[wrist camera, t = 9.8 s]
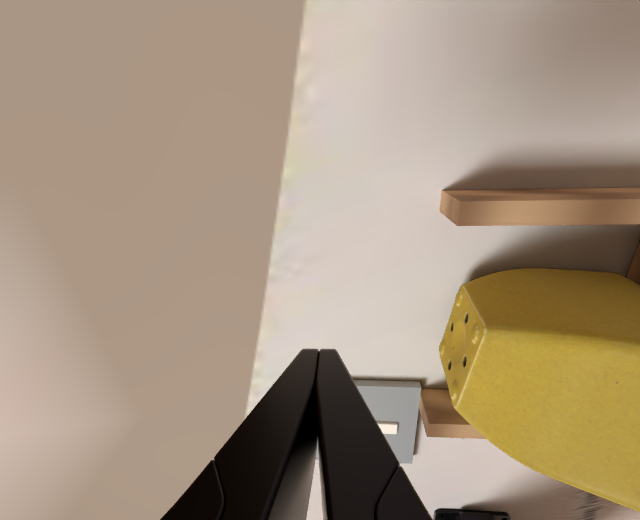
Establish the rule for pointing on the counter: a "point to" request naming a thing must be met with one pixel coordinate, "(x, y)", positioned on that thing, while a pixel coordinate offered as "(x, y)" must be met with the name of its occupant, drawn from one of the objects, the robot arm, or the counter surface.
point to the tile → (393, 412)
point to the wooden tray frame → (525, 210)
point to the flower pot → (552, 373)
